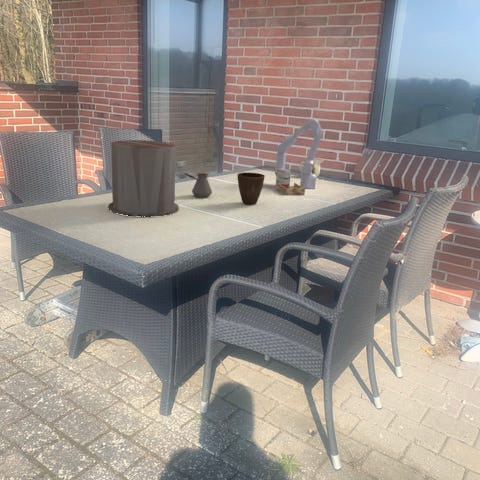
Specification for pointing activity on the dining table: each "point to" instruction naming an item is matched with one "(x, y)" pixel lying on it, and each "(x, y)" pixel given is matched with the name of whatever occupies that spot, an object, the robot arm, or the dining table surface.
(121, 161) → the storage basket
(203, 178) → the coffee pot
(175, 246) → the dining table surface
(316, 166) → the pitcher
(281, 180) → the ink box
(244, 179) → the plant pot
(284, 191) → the pine u-shaped frame
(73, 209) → the dining table surface
